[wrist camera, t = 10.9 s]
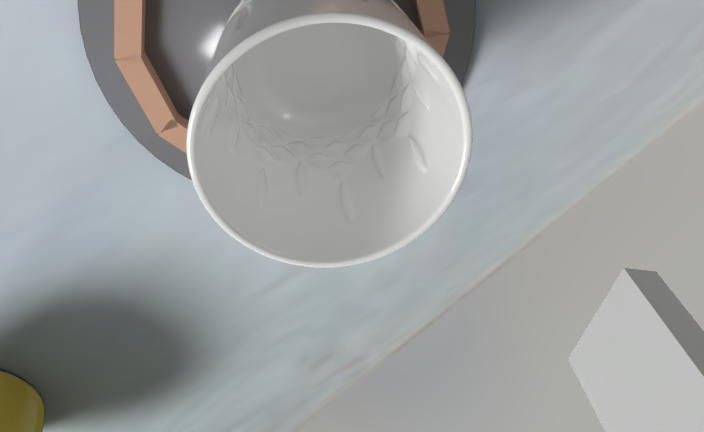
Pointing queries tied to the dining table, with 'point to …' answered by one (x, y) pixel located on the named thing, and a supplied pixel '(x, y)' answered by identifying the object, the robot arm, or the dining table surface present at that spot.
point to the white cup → (327, 131)
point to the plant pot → (19, 405)
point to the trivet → (205, 57)
